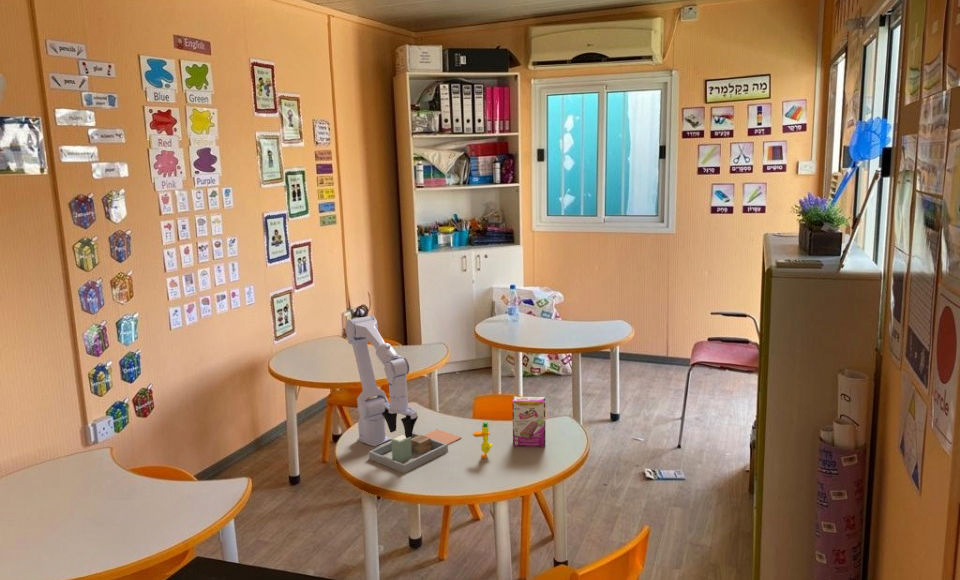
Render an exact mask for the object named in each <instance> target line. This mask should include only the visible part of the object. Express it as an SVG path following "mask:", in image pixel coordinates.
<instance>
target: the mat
mask: <svg viewBox="0 0 960 580" xmlns="http://www.w3.org/2000/svg"><path fill="white" fill-rule="evenodd" d="M423 436H426V437H429V438H431V439H434V440H437V441H440V442H442V443H445V444H448V446H449V445H450V444H453V443H456V442H457V441H459V440H461V439H462V437H461V436H459V435H455V434H452V433H450V432H447V431H443V430H441V429H434V430H432V431H430V432H428V433H425V434H423Z"/></svg>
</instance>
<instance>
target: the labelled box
mask: <svg viewBox="0 0 960 580" xmlns="http://www.w3.org/2000/svg"><path fill="white" fill-rule="evenodd" d="M390 442H391V443H392V450H391V454H392V455H391V457H392V458H391V459H392V460H395V461H397V462H400V463H403V462H405V461H407V460H409V459H411V458H412V457H413V454H412V452H413V451H412V449H411V437H409V438H406V436H405V434H400V435H399V436H395V437H394V438H391V440H390Z"/></svg>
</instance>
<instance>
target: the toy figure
mask: <svg viewBox="0 0 960 580" xmlns="http://www.w3.org/2000/svg"><path fill="white" fill-rule="evenodd" d="M489 435H491V433H490V432H489V423H488V422H487V421H483V422H482V424H481V430H479V431H473V433H472V436H473V437H475V438H480V437H481V438H482V443H481V445H480V448H481V449H480V450H481V451H482V452H483V453H482V454H481V455H480V456H481V458H482V459H486V458H489V457H488V453H489V452H490V450H491V449H492V448H493V445H494V443H490V442H489Z"/></svg>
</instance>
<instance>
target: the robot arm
mask: <svg viewBox="0 0 960 580" xmlns="http://www.w3.org/2000/svg"><path fill="white" fill-rule="evenodd" d="M344 330H345V336H346V340H347V342H348V344H350V345H352V349H353V355H354V357H355V363H356V366H357V370H358V375H359V378H360V379H359V380H360V384H361V388H362V391H361V393H360V394H359V395H358V397H357V398H356V401H357V413H358V415H359V419H358V421H357V422H358V425H357V426H358V428H357V429H358V438H357V439H356V440H357V441H359V442H362V443H363V444H367V445H369V446H371V447H378V446H380V445H382V444H384V443H386V442H388V441H391V439H392V437H390V436H387V434H386V424H387V427H388V430H389V433H394V432H396V431H397V419H398V418H397V416H398V414H399V415H403V416H405V417H402V418H401V419H400V420H401V423H402V425H403V429H404V435H405V436H406V438H409V437H411V436H412V432H413V431H414V427H415V425H416V423H417V421H418V419H419V417H418V411H416V410H414V409H413V408H411V407H410V406H409V404H408V403H409V401H408V384H407V375H408V374H409V373H410V363H409V361H408V360H407V358H406V357H405V356H402V355H399V354H398V353H397V351H396V350H395V349H394V348H393V346H392V344H390V343H388V342H385V340H384V338H383V336H382V335H381V334H380V332H379V326H378V320H377V319H376V317H375V316H374V315H373V314H372V315H370V314H369V316H368V315H367V316H363V317H357V318H350V319H347V320H346V322H345V326H344ZM368 343H370V344H371V345H372V346H373V347H374V348H375V350H376V351H375V355H376V356H377V358H378V360H379V361H380V362H381V363H382V365H383V368H384V373H385V376H386V381H387V383H388V390H389V391H388V393H389V399H388V398H387V395H386V393H385V391H384V390H382V389H380V388H378V386H377V381H376V377H375V373H374V368H373V364H372V360H371V355H370V351H369V347H368ZM372 397H373V398H372Z"/></svg>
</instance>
